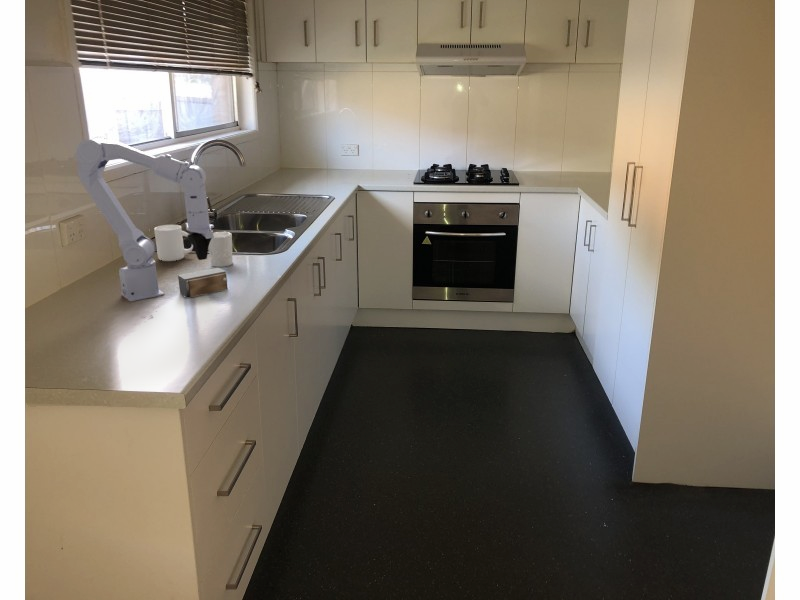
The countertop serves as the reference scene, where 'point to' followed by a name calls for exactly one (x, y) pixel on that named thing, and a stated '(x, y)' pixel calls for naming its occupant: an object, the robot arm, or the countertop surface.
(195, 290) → the door
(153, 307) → the countertop surface
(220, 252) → the white cup
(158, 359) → the countertop surface
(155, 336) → the countertop surface
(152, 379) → the countertop surface
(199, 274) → the grey long block
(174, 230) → the mug
